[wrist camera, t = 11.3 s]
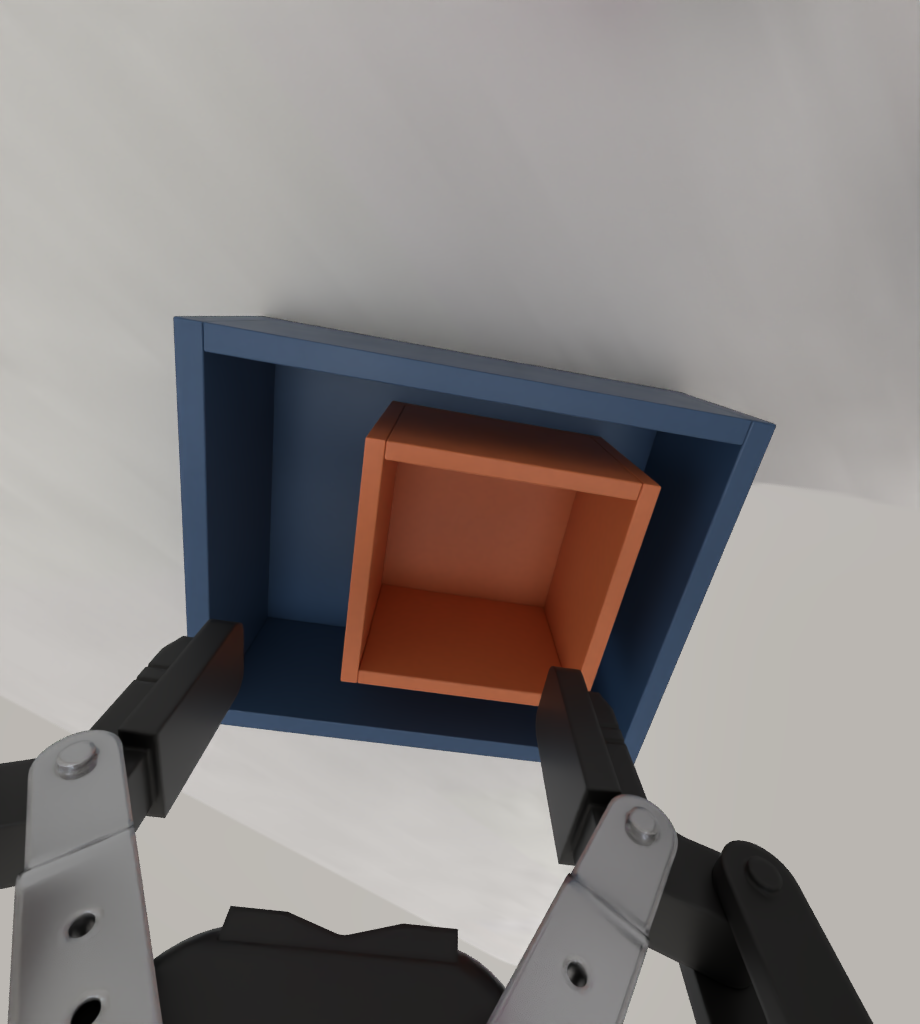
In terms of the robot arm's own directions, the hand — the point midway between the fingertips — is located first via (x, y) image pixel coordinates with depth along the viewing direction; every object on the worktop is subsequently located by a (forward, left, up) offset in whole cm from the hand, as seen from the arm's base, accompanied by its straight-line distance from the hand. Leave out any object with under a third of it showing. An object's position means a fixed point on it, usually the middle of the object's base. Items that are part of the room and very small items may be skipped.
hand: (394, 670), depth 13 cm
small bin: (-3, -1, -10) cm, 11 cm away
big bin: (-1, 0, -11) cm, 11 cm away
